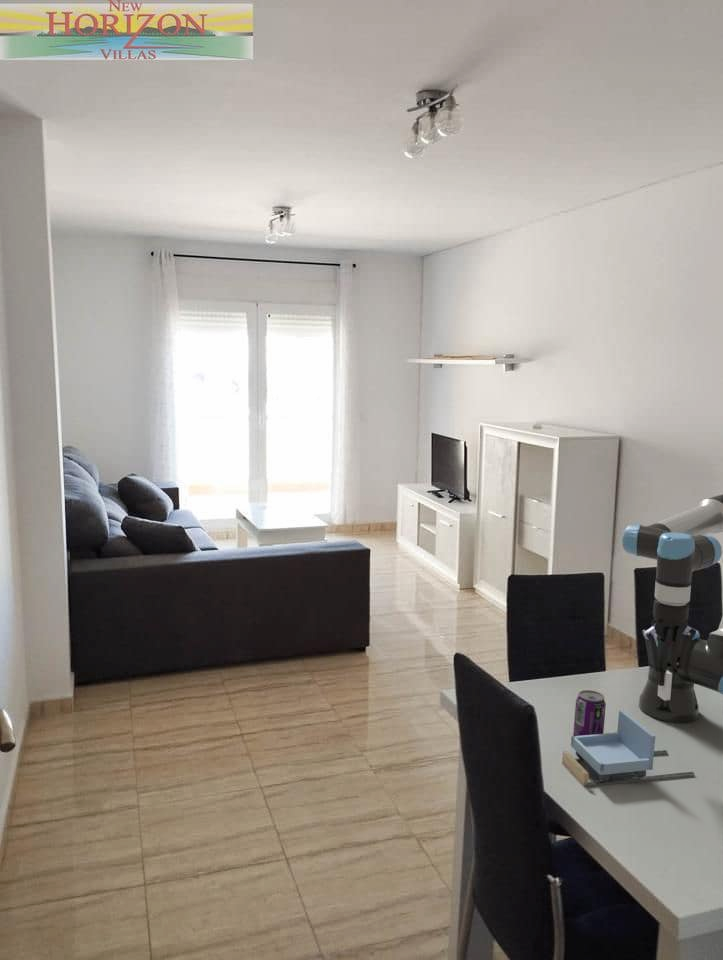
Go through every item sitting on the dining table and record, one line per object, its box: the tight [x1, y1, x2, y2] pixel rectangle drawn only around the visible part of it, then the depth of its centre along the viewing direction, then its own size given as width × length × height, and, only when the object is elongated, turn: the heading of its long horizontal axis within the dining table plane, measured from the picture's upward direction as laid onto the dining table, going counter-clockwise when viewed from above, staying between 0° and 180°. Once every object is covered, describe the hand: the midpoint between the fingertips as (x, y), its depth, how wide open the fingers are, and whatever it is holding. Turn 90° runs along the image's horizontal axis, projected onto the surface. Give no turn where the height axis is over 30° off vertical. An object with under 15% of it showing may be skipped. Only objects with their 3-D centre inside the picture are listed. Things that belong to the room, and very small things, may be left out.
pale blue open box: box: [570, 709, 657, 782], centre depth 173 cm, size 13×13×10 cm
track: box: [561, 749, 695, 788], centre depth 175 cm, size 28×11×3 cm, turn 103°
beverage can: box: [572, 689, 607, 736], centre depth 187 cm, size 7×7×12 cm
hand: (663, 697), depth 177 cm, fingers closed
